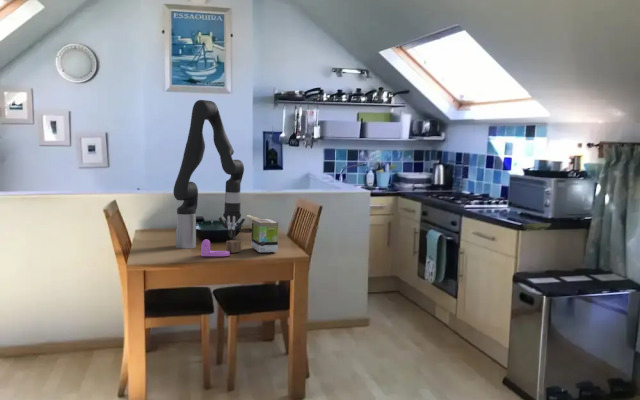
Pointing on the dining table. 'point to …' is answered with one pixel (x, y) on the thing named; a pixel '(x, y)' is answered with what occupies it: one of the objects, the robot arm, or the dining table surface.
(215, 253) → the bracket
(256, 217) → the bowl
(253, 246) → the tea box
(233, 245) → the walnut block
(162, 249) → the dining table surface
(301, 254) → the dining table surface
